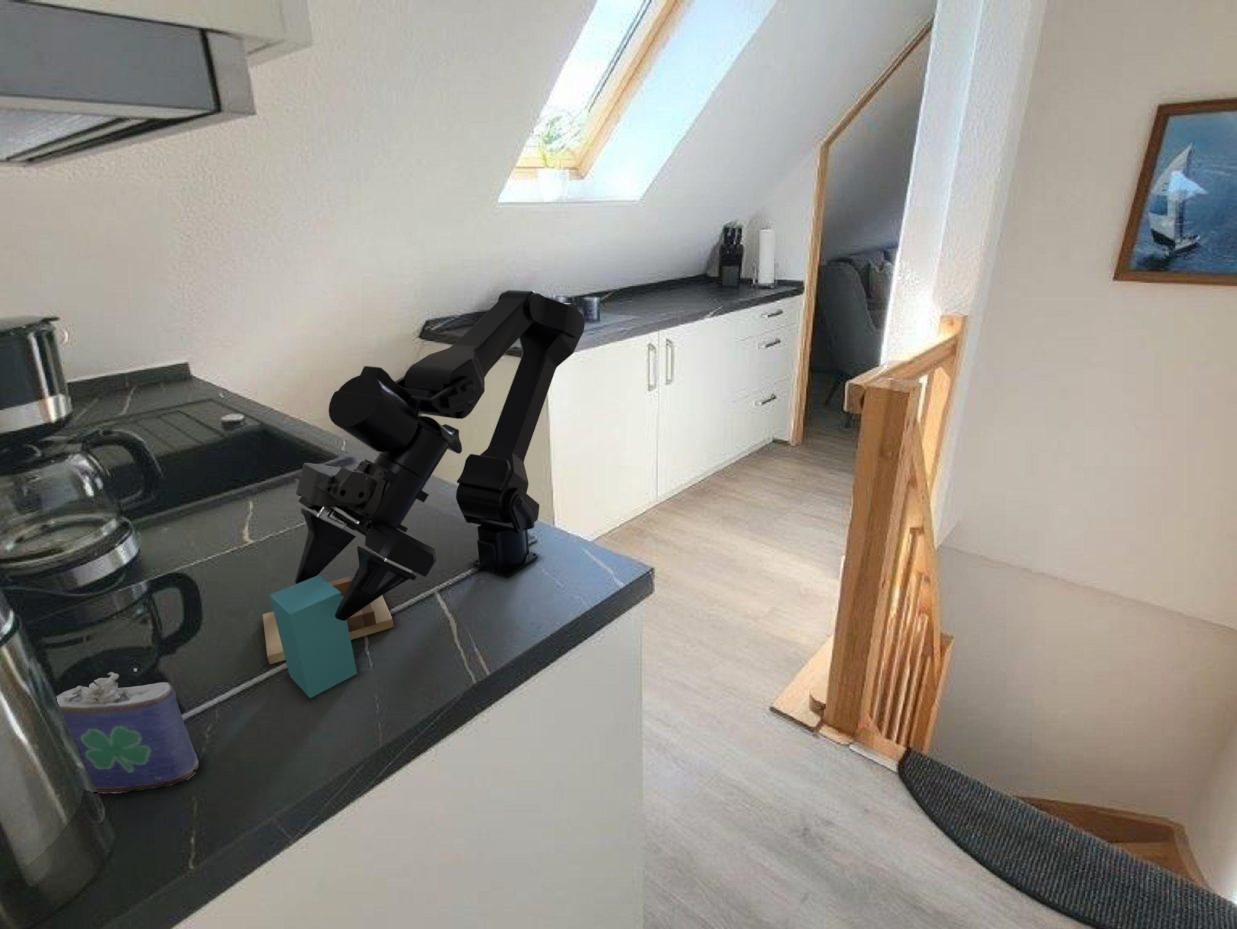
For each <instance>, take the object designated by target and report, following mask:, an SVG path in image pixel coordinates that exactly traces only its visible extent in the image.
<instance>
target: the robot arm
mask: <svg viewBox="0 0 1237 929" xmlns="http://www.w3.org/2000/svg"><path fill="white" fill-rule="evenodd" d="M585 321H586V320H585V317H584V314H583V313H582V312H581V311H580V310H579V308H578V306H577V305H576V304H575V303H571V302H561V301H558V300H555V299H551V298H549V297H546V296H545V295H542V294H541V293H538V292H536V291H535V290H518V289H513V290H512V289H508V290H506V291H503V292H501V293H500V295H499V296H498V299H497V302H495V304H493V306H491V308H490V309H488V310H487V312H485V313H484V315H482V317H481V318H479V319H478V320H477V321H476V322H475V323H474V324H473V326H471V327H470V328H469V329H468V330H467V331H466V332H465V333H464V334H463V335H462V336H461V337H460V338H459V339H458V340H457V341H456V342H455V343H454V344H452V345H451V346H449V347H448V348H447V347H446V348H444V349H441V350H438V351H436V352H433V353H429V354H427V355H426V356H425V357H423V358H421V359H419V360H418V361H417V362H415V363H413V364H412V365H411V366H409V368H408V369H407V371H406V372H405V374H404V375H403V376H401V377H400V378H398V379H397V380H394V379H393V378H392V376H390V374H389V373H388V372H387V371H386V370H385V369H383V368H382V367H381V366H371V365H364V366H363V368H362V370H361V372H360V373H359V375H356V376H354V377H352V378H350V379H348V380H347V381H346V382H344V383H343V384H342V385H341V386H340V387H339V388H338V390H335V391H334V392H333V394H332V396H331V398H330V401H329V403H328V417H329V419H330V421H331V422H332V423H333V424H334V425H335V426H337V427H338V428H340V429H341V430H343V432H346V433H347V434H349V435H350V436H352V437H353V438H355V439H357V440H358V441H360V442H361V443H363V444H364V445H366V446H367V447H368V448H370V449H372V450H373V451H375V452H379V453H378V454H377V456H376V457H375V459H374V461H370V460H368V459H367V458H365V459H364V460H362V461H360V462H359V464H358V465H357V466H356V468H354V469H349V468H347V467H344V466H343V467H340V466H332V465H326V464H318V463H311V462H304V463H303V465H302V469H301V472H300V475H299V480H298V484H297V488H296V492H295V495H296V496H298V497H300V498H299V499H298V502H299V503H300V504H301V505H302V506H304V507H306V508H307V509H305V508H302V507H301V509H300V513H301V515H303V517H304V521H305V523H306V527H307V534H306V539H305V544H304V547H303V551H302V554H301V558H300V561H299V565H298V569H297V571H296V572H297V573H296V576H295V579H294V583H295V584H298V583H300V582H303V581H305V580H308V579H310V578H313V577H315V576H318V575H319V574H321V573H322V572H323V570H324V569H325V568H327V567H328V566H329V564H331V563H332V562H333V561H334V559H336V558H337V557H338V555H339V554H340V553H342V551H344V550H345V549H346V548H347V546H349V545H350V544H351V543H352V541H353V540H355V539H356V537H357V536H356V535H355V534H354V533H352V532H350V531H349V530H352V531H356V532H358V533H359V534H361V535H362V536H364V538H365V539H364V546H365V547H367V548H368V549H370V550H371V551H370V550H367V549H365V548H364V547H361V546H359V545H357V547H356V550H357V558H358V567H357V570H356V572H355V574H354V575H355V576H354V575H353V576H354V577H353V579H352V581H351V583H350V585H349V587H348V589H347V591H346V593H345V595H344V596H343V598H342V600H341V602H340V604H339V607H338V609H337V611H336V614H335V618H337V619H339V620H342V621H345V620H347V619H348V618H350V617H351V616H353V615H354V614H356V613H357V612H358V611H360V610H361V609H363V608H364V607H366V606H367V605H368V604H370V603H371V602H373V601H374V600H376V599H377V598H379V597H380V596H384V595H385V594H386V593H388V592H389V591H391V590H393V589H395V588H397V587H398V586H400V585H402V584H404V583H405V582H407V581H408V580H411V581H415V580H416V579H417V578H418V575H420V576H422V577H425V578H427V577H428V575H429V573H430V572H431V570H432V569H433V567H434V565H435V564H436V562H437V556H436V555H437V554H436V549H435V548H434V547H432V546H431V545H429V544H427V543H426V542H424V541H422V540H421V539H419V538H417V537H415V536H413V535H411V534H409V533H407V531H408V527H407V526H405V525H403V524H402V523H403V521H404V520H405V518H406V517H407V515H408V513H409V512H410V511H411V508H412V507H413V505H414V504H415V502H416V501H417V500H418V501H420V502H422V503H423V504H424V503H425V502H426V500H427V499H428V497H429V496H430V495H429V493H427V492H425V491H424V490H423V489H424V488H425V486H426V484H427V482H428V481H429V480H430V479H431V476H432V475H433V473H434V472H435V470H436V468H437V467H438V465H439V464H440V462H441V460H442V458H444V455H445V454H446V452H447V450H449V451H451V452H453V453H456V454H458V455H459V454H462V452H463V446H462V441H461V439H460V429H459V428H456V427H454V426H452V425H449V424H447V423H445V424H440V423H439V422H438V421H437V420H436V419H434V418H432V417H430V416H433V417H441V418H449V419H455V420H456V419H457V420H463V419H465V418H467V417H468V416H469V415H470V414H472V412H473V411H474V409H475V407H476V406H477V404H478V402H479V401H480V400H481V398H482V396H483V395H484V394H485V390H486V389H485V388H486V384H485V383H486V382H485V381H486V379H485V378H486V376H487V375H488V373H489V372H490V371H491V370H492V368H494V366H495V365H496V364H497V363H498V362H499V361H500V360H501V359H502V357H504V356H505V354H506V353H507V352H508V351H509V350H510V349H511V347H512V346H513V345H514V344H515V343H516V342H517V341H518V340H519V343H520V347H521V352H522V354H521V357H520V359H519V361H518V362H519V363H518V365H517V367H516V371H515V374H514V375H513V376H514V377H513V379H512V382H511V383H510V384H511V385H510V387H509V390H508V393H507V395H506V398H505V401H504V403H503V406H502V409H501V411H500V414H499V417H498V418H497V423H496V425H495V427H494V430H493V433H492V436H491V439H490V441H489V444H488V446H487V448H486V449H485V450H484V451H482V453H480V454H474V453H470V454H469V455H468V456H467V457H466V459H465V462H464V465H463V469H462V472H461V474H460V476H459V477H458V478H457V480H456V483H457V484H458V486H457V487H456V491H455V499H456V502H457V505H458V508H459V510H460V512H461V514H462V516H463V519H464V520H465V523H467V524H473V525H474V524H475V525H478V526H476V527H477V538H478V539H477V540H476V542H477V543H476V544H477V553H478V558H476V559H474V560H473V561H472V565H473V566H474V567H476V568H479V569H482V570H484V571H487V572H490V573H492V574H495V575H498V576H500V577H504V578H511V577H512V576H513V575H515V574H516V573H518V572H519V571H521V570H522V569H524V568H526V567H527V566H529V565H530V564H531V563H533V562H534V561H536V560H537V559H538V558H539V553H537V552H534V551H531V550H530V543H529V531H528V530H532V529H534V528H535V523H536V522H537V521H538V520H539V515H540V503H538V502H537V500H535V499H534V498H533V497H531V496H530V495H529V494H528V489H529V479H528V474H527V471H526V466H525V460H526V456H527V454H528V450H529V448H530V445H531V442H532V439H533V436H534V434H535V430H536V428H537V424H538V422H539V418H540V416H541V413H542V410H543V408H544V404H545V401H546V398H547V396H548V393H549V390H550V387H551V385H552V381H553V378H554V375H555V372H556V370H557V368H558V367H559V366H560V365H562V363H564V362H565V361H566V360H567V359H568V358H570V357H571V356H572V355H573V354H574V352H575V350H576V348H577V346H578V343H579V342H580V340H581V338H582V336H583V334H584V331H585V326H586V325H585V324H586V322H585ZM346 527H347V528H349V530H347V529H346ZM415 573H416V574H418V575H416V574H415Z"/></svg>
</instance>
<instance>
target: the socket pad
mask: <svg viewBox="0 0 1237 929" xmlns="http://www.w3.org/2000/svg"><path fill="white" fill-rule="evenodd" d="M354 576H355V574H353V575H350V576H345V577H342V578H339V579H335V580H331V581H327V582H328V583H330V584H331V585H332V586H333V587H335V588H336V589H337V590H338V591H340V592H341V596H342V598H343V596H344V595H345V593H346V591H347V589H348V587H349V585H350V583H351V581H352V579H353V577H354ZM262 622H263V629H264V630H263V631H264V639H265V648H266V657H267V662H268V664H269V665H274V664H278V663H281V662H284V661H286V659H285V655H284V651H283V647H282V643H281V639H280V635H279V631H278V628H277V624H276V620H275V616H274V612H273V611H268V612H265V613H262ZM347 625H348V630H349V635H350V640H351V641H353V640H355V639H359V638H362V637H366V636H370V635H372V634H376V633H379V632H382V631H385V630H389V629H392V628H394V625H395V624H394V620H393V616H392V614H391V612H390V610H389V608H388V606H387V603H386V600H385V599H384V595H382V596H380V597H379V598H377V599H376V600H374V601H373V602H371V603H370V604H368V605H367V606H366V607H364V608H363V609H361V610H360V611H358V612H357V613H356V614H354V615H353V616H351V617H350V618H348V619H347Z"/></svg>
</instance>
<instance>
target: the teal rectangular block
mask: <svg viewBox="0 0 1237 929" xmlns="http://www.w3.org/2000/svg"><path fill="white" fill-rule="evenodd" d="M328 582H329V581H328V580H326V579H325V578H324V577H322V576H321V575H319V574H318V575H317V576H315V577H313V578H310V579H308V580H305V581H303V582H300V583H298V584H296V583H295V584H293V585H291V586H288V587H285V588H283V589H281V590H278V591H275V592H272V593H270V594H269V600H270V603H271V608H272V612H274V616H275V620H276V624H277V628H278V631H279V635H280V639H281V643H282V647H283V651H284V655H285V659H286V660H285V663H286V668H287V670H288V674H289V677H290V678H291V679H292V681H293V682H294V683H295V684H297V686H298V687H299V688H300V690H302V691H303V693H304V694H305V695H306V696H307V697H308V698H309V699H312V698H314V697H316V696H318V695H320V694H321V693H324V692H326V691H328V690H329V689H332V688H333V687H335V686H337V685H340V684H341V683H342V682H344V681H346V680H348V679H350V678H352V677H354V676H356V675H358V669H357V664H356V660H355V655H354V650H353V645H352V640H350V635H349V630H348V625H347V620H345V621H342V620H339V619H337V618H335V614H336V611H337V609H338V607H339V604H340V602H341V600H342V596H341V592H340V591H338V590H337V589H336V588H335V587H333V586H332V585H331V584H330V583H328Z"/></svg>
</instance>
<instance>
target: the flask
mask: <svg viewBox="0 0 1237 929" xmlns="http://www.w3.org/2000/svg"><path fill="white" fill-rule="evenodd" d="M107 675H108V676H109V677H99V678H98V677H97V679H94V680H93V682H91V683H90V684H89V685H88V686H82V685H78V686H76V687H74V688H71V689H68V690H64V691H63V692H62V693H60V694H57V695H56V696H55V698H57V702H58V704H59V706H60V708H61V710H62V712H63V714H64V716H65V719H66V721H67V722H68V725H69V727H70V729H71V731H72V734H73V736H74V739H75V740H76V742H77V745H78V748H79V749H80V751H81V755H82V757H83V759H84V762H85V763H86V766H87V769H88V771H89V774H90V776H91V777H92V780H93V781H94V784H95V787H96V788H97V792H98V793H97V794H121V793H129V792H131V791H144V790H152V789H156V788H157V789H158V788H163V787H170V786H173V785H176V784H178V783H182V782H183V783H184V782H185V781H189V780H190V779H191V778H192V777H194V775H196V773H197V771H198V770H199V767H200V766H199V759H198V756H197V754H196V751H195V749H194V747H193V744H192V741H191V739H190V735H189V732H188V729H187V726H186V723H185V721H184V718H183V715H182V712H181V709H180V707H179V703H178V699H177V693H176V690H175V689H174V686H173V685H172V683H171V682H166V681H162V682H155V683H148V684H143V685H134V686H126V687H119V683H118V682H117V680H118V679H119V678H120V675H119V674H118V673H115V672H113V671H110V672H108V673H107Z"/></svg>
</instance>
